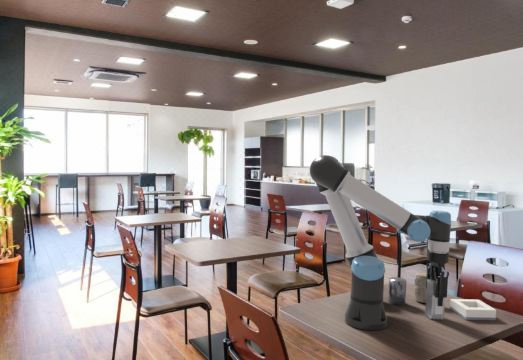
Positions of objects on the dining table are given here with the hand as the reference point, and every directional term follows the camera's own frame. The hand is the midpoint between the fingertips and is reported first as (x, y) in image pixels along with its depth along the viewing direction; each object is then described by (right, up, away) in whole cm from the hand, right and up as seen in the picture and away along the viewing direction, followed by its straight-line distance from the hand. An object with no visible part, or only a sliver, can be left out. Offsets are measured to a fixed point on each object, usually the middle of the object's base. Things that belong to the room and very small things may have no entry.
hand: (434, 310), depth 161 cm
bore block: (+17, -3, +5) cm, 18 cm away
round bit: (-10, -1, +16) cm, 18 cm away
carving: (+2, -2, +18) cm, 18 cm away
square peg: (0, -2, 0) cm, 2 cm away
